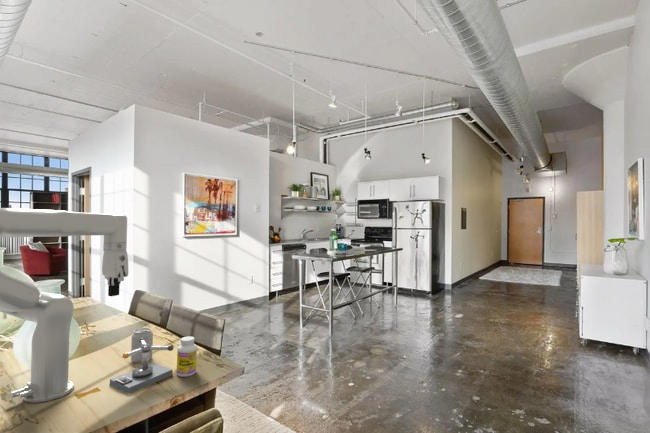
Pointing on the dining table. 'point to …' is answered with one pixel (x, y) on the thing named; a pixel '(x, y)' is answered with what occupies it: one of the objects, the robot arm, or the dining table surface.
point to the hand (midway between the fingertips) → (113, 295)
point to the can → (135, 344)
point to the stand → (140, 379)
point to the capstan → (145, 358)
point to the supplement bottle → (186, 357)
